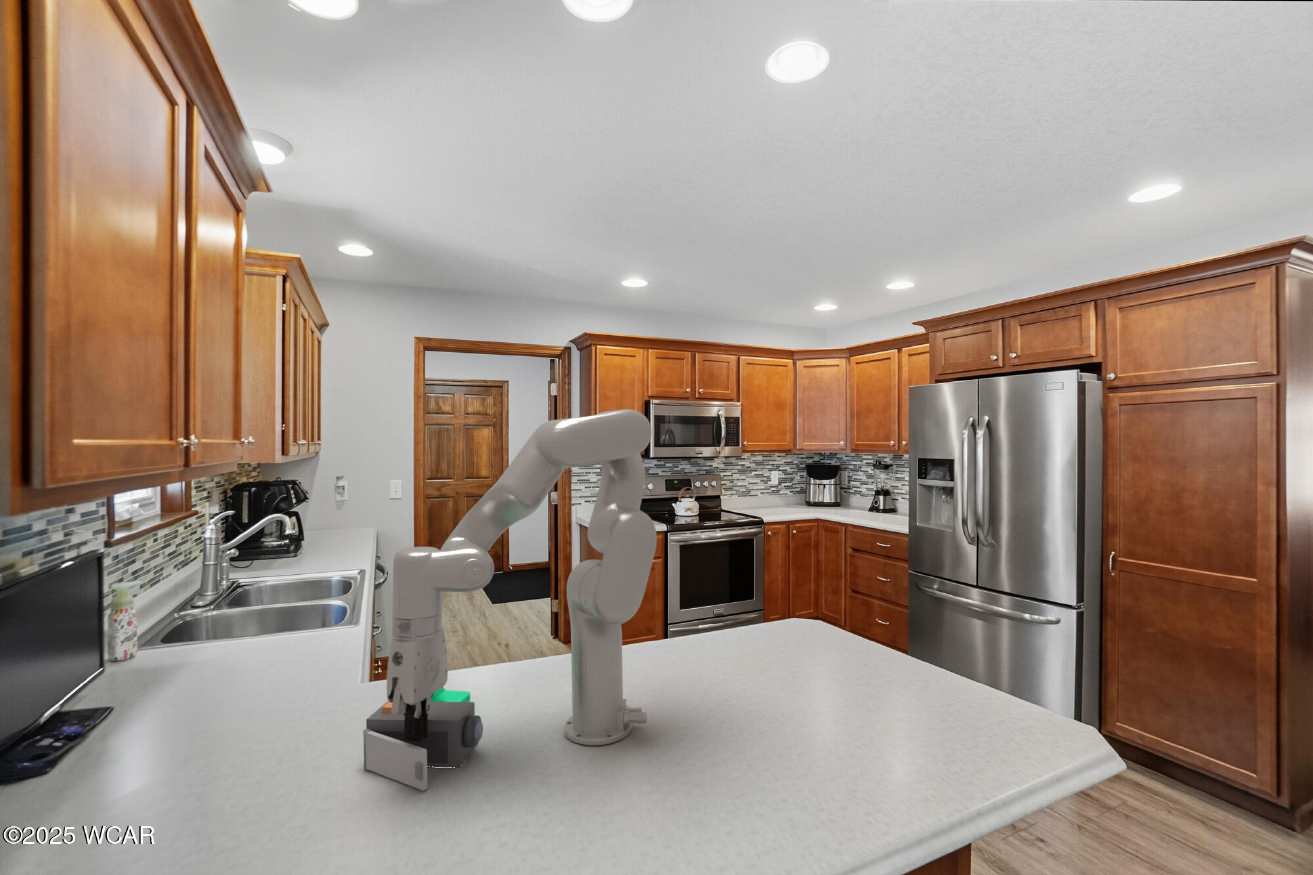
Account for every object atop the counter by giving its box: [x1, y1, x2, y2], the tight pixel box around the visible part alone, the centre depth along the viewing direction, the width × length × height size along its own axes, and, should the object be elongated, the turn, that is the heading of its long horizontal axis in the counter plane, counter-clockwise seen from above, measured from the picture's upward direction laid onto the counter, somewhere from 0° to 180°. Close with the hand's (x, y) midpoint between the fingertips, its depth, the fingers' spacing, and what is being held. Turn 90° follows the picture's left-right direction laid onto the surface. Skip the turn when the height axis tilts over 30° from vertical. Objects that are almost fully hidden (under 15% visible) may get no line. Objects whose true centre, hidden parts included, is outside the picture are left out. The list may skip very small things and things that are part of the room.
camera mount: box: [431, 686, 471, 702], centre depth 120 cm, size 12×8×10 cm, turn 170°
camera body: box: [365, 700, 484, 769], centre depth 104 cm, size 18×7×9 cm, turn 86°
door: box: [362, 728, 428, 791], centre depth 97 cm, size 14×1×6 cm, turn 61°
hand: (415, 738), depth 97 cm, fingers closed
